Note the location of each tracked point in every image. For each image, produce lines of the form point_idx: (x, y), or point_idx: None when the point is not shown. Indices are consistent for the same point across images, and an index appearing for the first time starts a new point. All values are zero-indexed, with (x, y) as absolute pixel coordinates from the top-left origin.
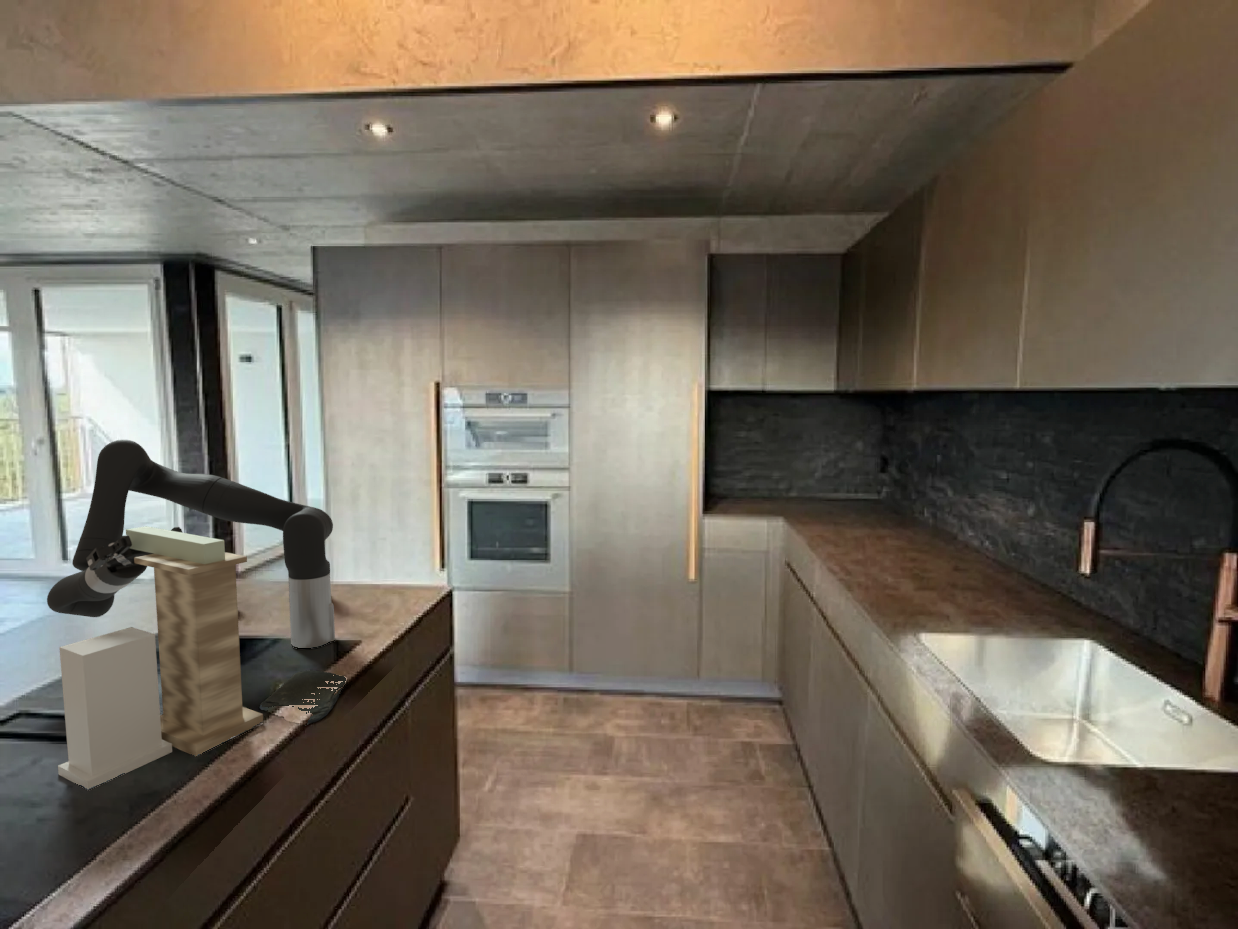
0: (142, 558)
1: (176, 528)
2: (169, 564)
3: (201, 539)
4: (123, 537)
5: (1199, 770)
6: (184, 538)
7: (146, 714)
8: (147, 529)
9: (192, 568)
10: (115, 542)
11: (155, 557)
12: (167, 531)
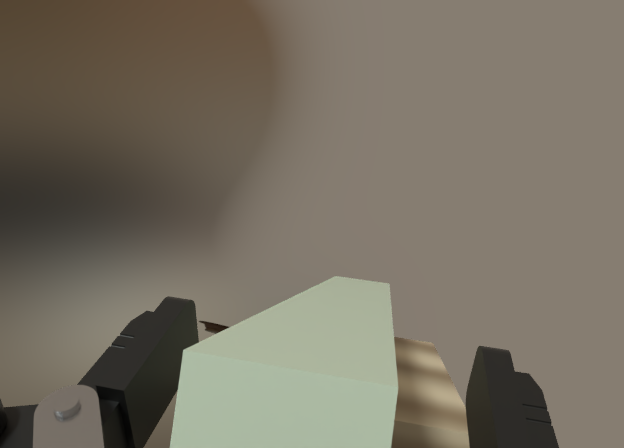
0: (459, 413)
1: (194, 305)
2: (437, 362)
3: (356, 283)
4: (508, 364)
5: (199, 321)
6: (371, 290)
7: None
8: (307, 331)
9: (421, 341)
10: (550, 424)
11: (416, 397)
12: (307, 303)
